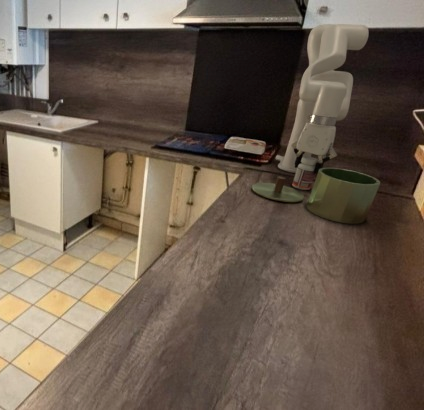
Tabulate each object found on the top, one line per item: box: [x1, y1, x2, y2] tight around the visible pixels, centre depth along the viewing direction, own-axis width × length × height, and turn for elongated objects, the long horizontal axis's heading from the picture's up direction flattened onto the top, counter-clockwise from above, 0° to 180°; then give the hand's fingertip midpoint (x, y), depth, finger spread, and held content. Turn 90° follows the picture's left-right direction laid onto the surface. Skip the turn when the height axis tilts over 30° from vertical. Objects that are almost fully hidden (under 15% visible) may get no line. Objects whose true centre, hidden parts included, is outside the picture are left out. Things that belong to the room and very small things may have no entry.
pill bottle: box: [291, 156, 319, 191], centre depth 132 cm, size 6×6×11 cm
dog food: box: [223, 136, 267, 156], centre depth 181 cm, size 30×18×5 cm, turn 153°
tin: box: [306, 167, 381, 225], centre depth 111 cm, size 16×16×12 cm
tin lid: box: [251, 175, 305, 203], centre depth 125 cm, size 17×17×6 cm
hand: (306, 169), depth 131 cm, fingers closed on pill bottle, 6 cm apart
